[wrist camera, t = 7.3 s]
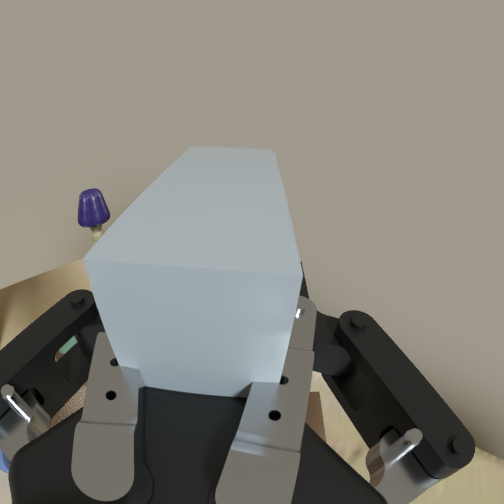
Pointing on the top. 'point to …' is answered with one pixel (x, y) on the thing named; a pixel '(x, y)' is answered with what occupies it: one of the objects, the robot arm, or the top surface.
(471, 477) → the top surface
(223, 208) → the block
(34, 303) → the top surface
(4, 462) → the decorative dice
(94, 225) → the toy lamp
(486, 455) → the top surface
